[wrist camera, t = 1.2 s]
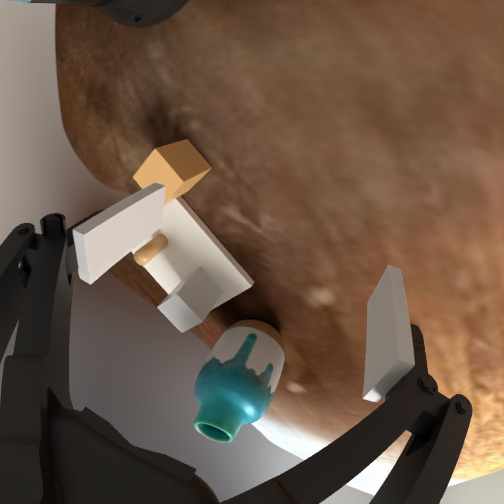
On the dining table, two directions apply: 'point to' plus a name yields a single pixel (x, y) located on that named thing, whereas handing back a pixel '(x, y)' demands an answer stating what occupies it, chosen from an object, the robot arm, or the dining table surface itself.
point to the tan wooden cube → (173, 169)
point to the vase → (238, 379)
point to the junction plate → (190, 266)
